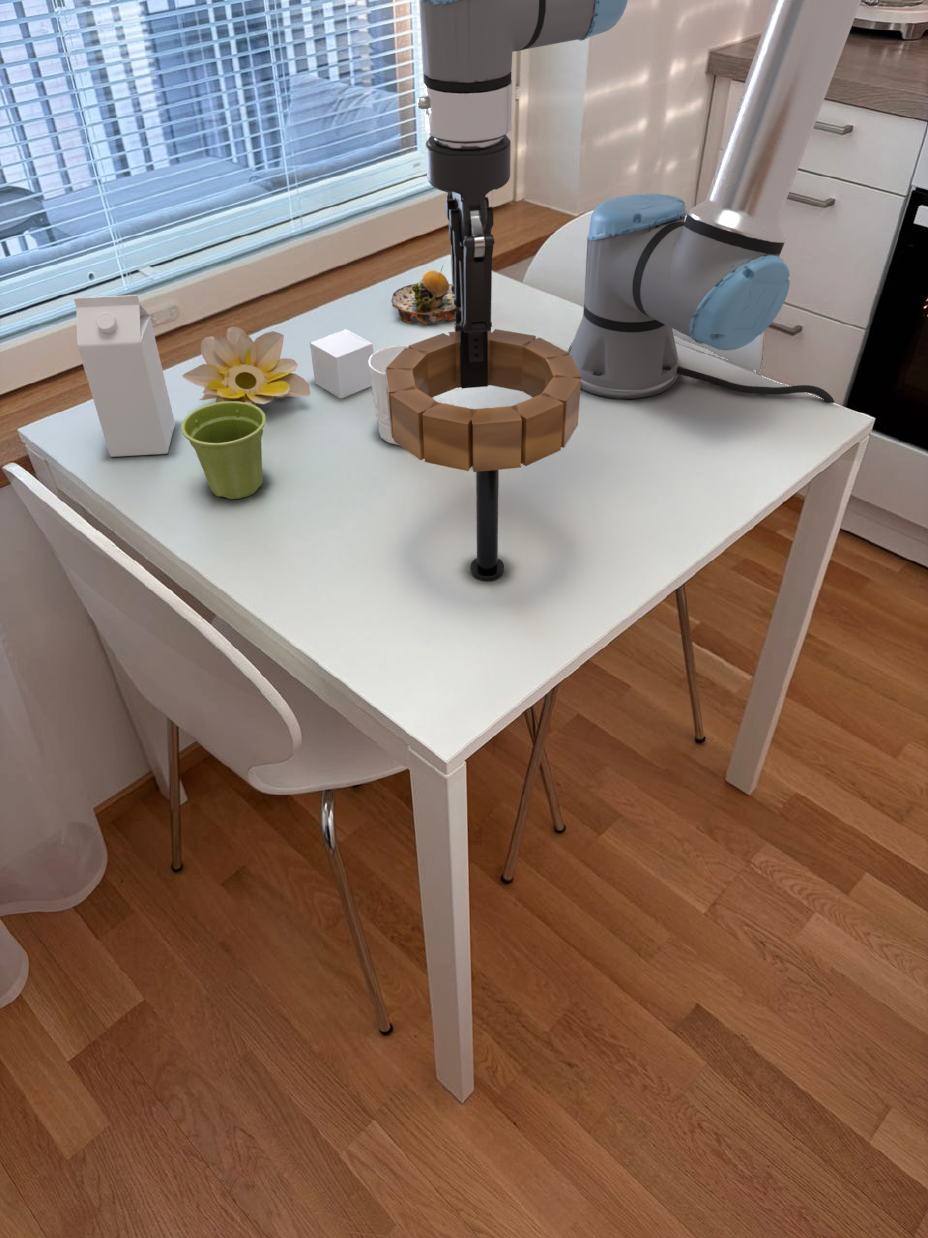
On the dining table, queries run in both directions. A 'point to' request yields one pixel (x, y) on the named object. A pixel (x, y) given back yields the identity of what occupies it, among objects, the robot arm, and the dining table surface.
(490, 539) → the peg
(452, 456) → the ring
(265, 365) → the decorative flower
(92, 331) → the milk carton
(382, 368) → the white cup
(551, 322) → the dining table surface
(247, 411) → the plant pot
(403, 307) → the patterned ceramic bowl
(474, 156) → the robot arm
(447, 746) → the dining table surface
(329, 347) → the white cube
